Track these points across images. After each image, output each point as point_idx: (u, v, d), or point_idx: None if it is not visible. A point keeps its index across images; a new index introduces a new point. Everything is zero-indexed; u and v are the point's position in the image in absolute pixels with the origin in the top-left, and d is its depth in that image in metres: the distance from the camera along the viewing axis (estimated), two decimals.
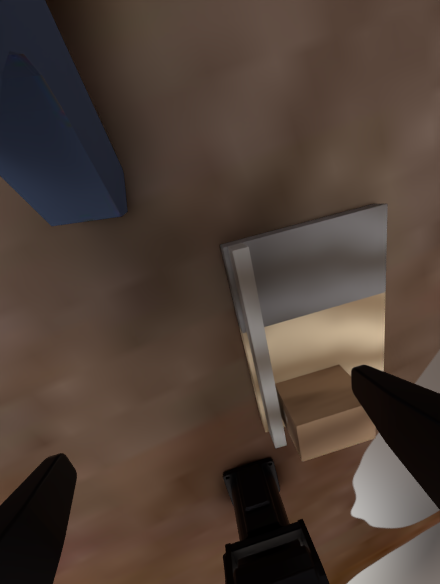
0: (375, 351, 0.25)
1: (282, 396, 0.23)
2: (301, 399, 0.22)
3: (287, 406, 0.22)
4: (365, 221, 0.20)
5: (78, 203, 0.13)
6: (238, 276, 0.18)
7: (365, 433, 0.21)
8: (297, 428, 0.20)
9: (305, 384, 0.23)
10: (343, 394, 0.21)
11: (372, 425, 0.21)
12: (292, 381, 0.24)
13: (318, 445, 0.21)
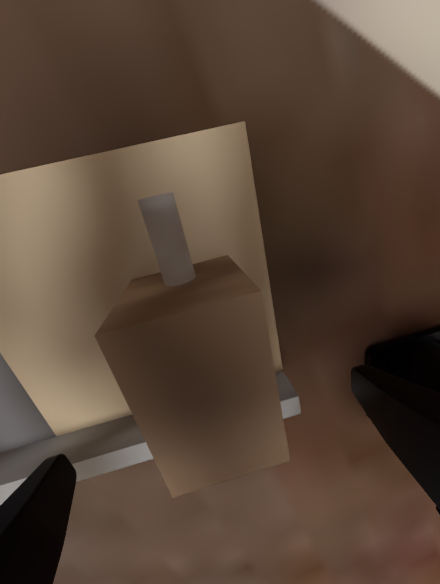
0: (87, 186, 0.09)
1: None
2: None
3: None
4: None
5: None
6: None
7: (231, 330, 0.07)
8: (180, 493, 0.09)
9: None
10: None
11: (202, 317, 0.06)
12: None
13: (246, 440, 0.08)
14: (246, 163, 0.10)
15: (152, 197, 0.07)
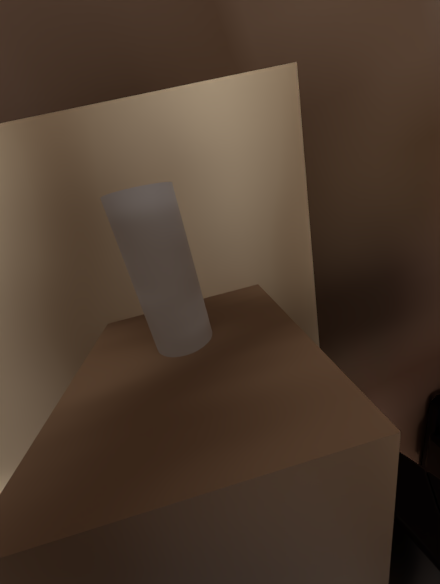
0: (25, 175, 0.05)
1: None
2: None
3: None
4: None
5: None
6: None
7: (314, 515, 0.03)
8: None
9: None
10: None
11: (248, 499, 0.02)
12: None
13: None
14: (294, 137, 0.06)
15: (127, 191, 0.03)
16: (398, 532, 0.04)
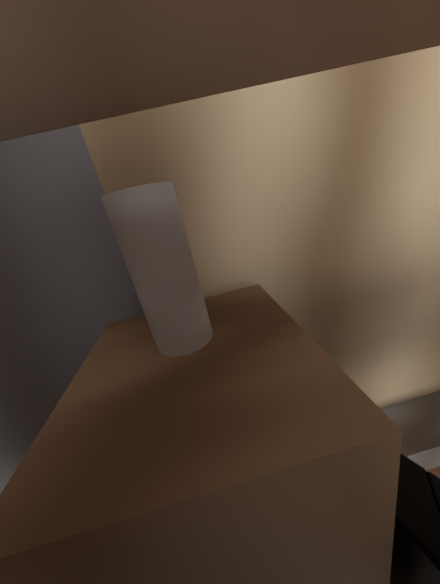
0: (333, 116, 0.06)
1: None
2: None
3: None
4: None
5: None
6: None
7: (315, 515, 0.03)
8: None
9: None
10: None
11: (248, 498, 0.02)
12: None
13: None
14: None
15: (128, 190, 0.03)
16: (398, 532, 0.04)
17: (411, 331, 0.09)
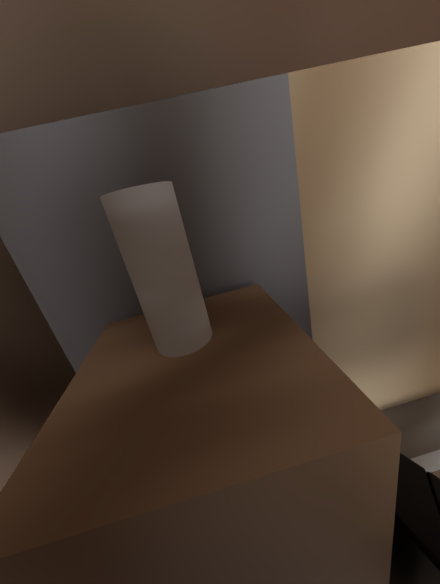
0: None
1: None
2: None
3: None
4: (36, 223, 0.06)
5: None
6: None
7: (314, 515, 0.03)
8: None
9: None
10: None
11: (247, 499, 0.02)
12: None
13: None
14: None
15: (127, 190, 0.03)
16: (398, 532, 0.04)
17: None
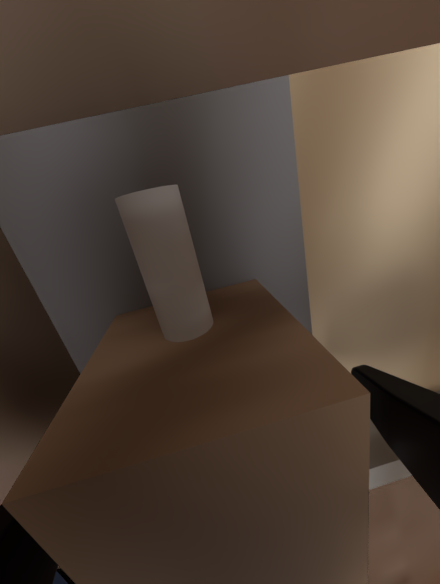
0: None
1: None
2: None
3: None
4: (40, 222, 0.06)
5: None
6: None
7: (299, 466, 0.03)
8: None
9: None
10: None
11: (243, 448, 0.03)
12: None
13: None
14: None
15: (140, 193, 0.04)
16: None
17: None
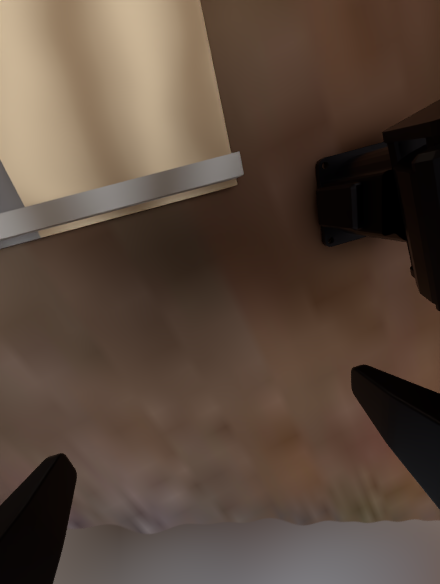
0: None
1: None
2: None
3: None
4: None
5: None
6: None
7: None
8: None
9: None
10: None
11: None
12: None
13: None
14: None
15: None
16: None
17: (156, 104, 0.14)
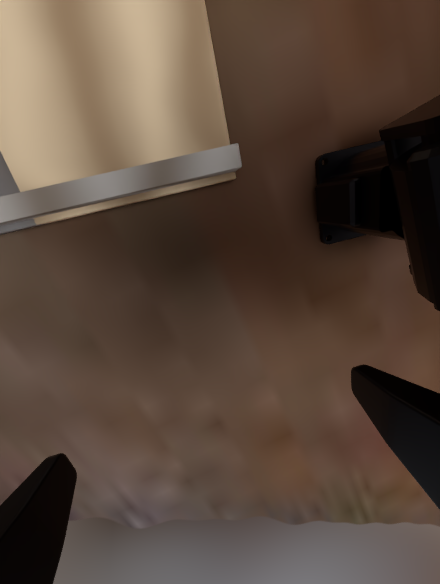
0: None
1: None
2: None
3: None
4: None
5: None
6: None
7: None
8: None
9: None
10: None
11: None
12: None
13: None
14: None
15: None
16: None
17: (155, 93, 0.14)
